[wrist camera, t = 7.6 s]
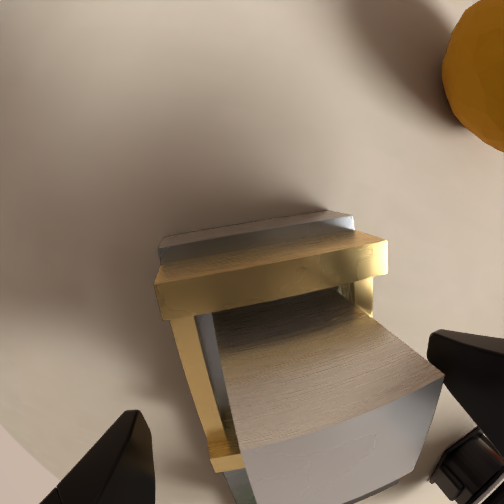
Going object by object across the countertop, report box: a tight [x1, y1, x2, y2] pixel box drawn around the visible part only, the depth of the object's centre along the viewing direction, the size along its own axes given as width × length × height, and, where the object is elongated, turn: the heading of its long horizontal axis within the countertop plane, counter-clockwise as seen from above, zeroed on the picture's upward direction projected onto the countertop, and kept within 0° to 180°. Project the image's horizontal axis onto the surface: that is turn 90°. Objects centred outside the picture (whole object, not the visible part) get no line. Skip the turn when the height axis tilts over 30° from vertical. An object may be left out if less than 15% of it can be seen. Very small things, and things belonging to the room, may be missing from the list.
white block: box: [212, 287, 445, 504], centre depth 8 cm, size 4×4×6 cm
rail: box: [154, 210, 388, 504], centre depth 10 cm, size 6×20×8 cm, turn 8°
